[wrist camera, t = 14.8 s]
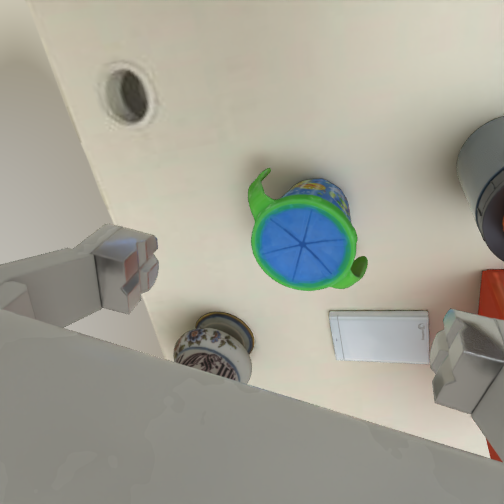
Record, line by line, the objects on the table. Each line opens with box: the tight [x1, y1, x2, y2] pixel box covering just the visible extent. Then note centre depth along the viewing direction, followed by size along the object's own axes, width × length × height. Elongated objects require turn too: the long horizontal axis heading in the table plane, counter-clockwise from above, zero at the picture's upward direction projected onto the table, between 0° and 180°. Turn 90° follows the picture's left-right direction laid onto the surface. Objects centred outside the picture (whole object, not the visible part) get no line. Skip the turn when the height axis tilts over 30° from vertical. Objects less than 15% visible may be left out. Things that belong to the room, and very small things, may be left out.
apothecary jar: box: [174, 312, 254, 384], centre depth 56 cm, size 12×12×18 cm
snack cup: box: [248, 168, 368, 291], centre depth 44 cm, size 16×10×10 cm
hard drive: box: [329, 311, 430, 364], centre depth 54 cm, size 2×8×12 cm
